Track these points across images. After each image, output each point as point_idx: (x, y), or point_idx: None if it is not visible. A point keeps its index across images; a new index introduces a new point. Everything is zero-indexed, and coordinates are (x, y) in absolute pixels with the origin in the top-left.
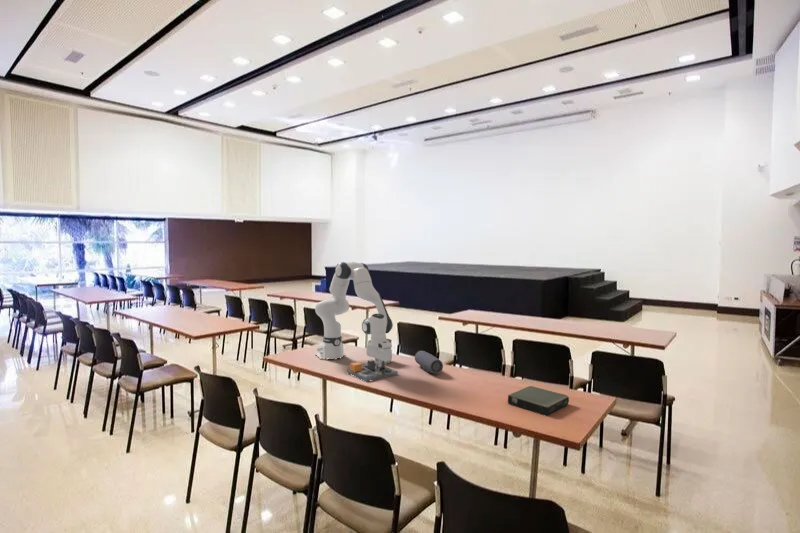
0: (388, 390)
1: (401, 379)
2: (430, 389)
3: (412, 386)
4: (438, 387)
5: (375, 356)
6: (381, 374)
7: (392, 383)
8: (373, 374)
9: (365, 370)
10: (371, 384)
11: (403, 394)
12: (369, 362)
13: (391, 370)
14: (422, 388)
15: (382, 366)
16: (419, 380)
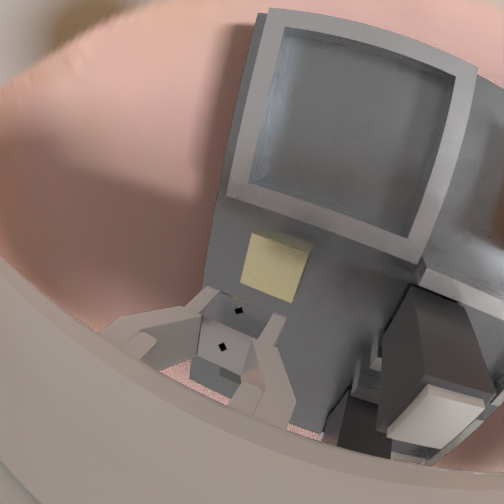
0: (57, 55)
1: (116, 277)
2: (3, 215)
3: (32, 201)
4: (7, 253)
5: (175, 427)
6: (223, 243)
7: (97, 166)
8: (241, 129)
9: (481, 281)
10: (188, 22)
11: (12, 86)
12: (450, 366)
13: (219, 373)
14: (12, 206)
15: (333, 419)
16: (68, 303)
